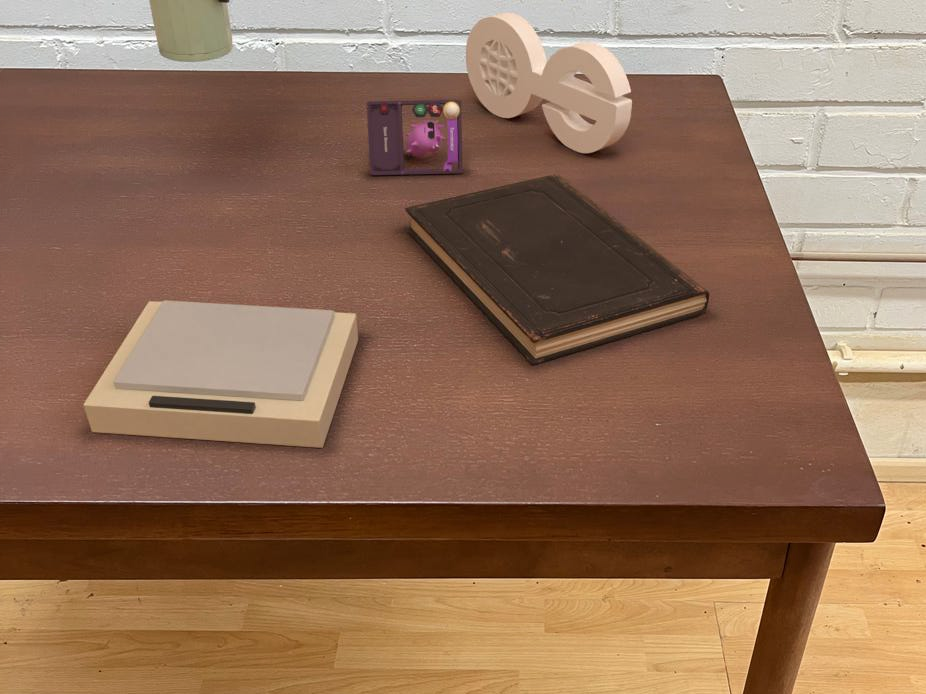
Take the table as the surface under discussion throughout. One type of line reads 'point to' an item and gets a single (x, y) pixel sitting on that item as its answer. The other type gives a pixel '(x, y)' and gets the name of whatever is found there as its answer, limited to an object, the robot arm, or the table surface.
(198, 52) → the cup
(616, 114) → the beige logo cutout
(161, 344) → the scale
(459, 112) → the game card
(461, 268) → the hardcover book
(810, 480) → the table surface
